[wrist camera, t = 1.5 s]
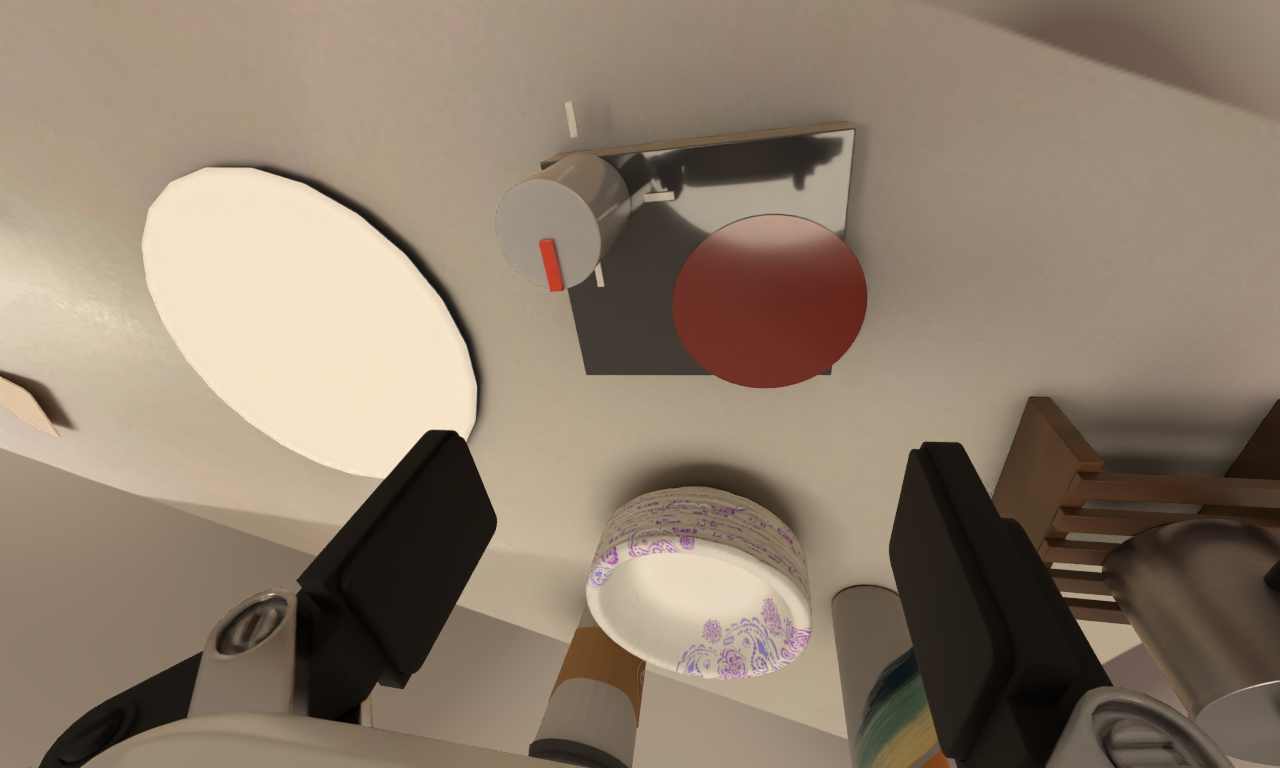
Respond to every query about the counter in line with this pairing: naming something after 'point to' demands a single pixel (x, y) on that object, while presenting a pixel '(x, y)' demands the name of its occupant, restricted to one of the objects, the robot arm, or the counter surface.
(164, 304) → the plate
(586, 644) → the coffee cup
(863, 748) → the lotion bottle
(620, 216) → the hob knob
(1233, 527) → the saucepan
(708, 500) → the paper bowls
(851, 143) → the hob
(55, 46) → the counter surface
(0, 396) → the spatula
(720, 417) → the counter surface
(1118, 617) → the drying rack
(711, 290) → the burner ring
